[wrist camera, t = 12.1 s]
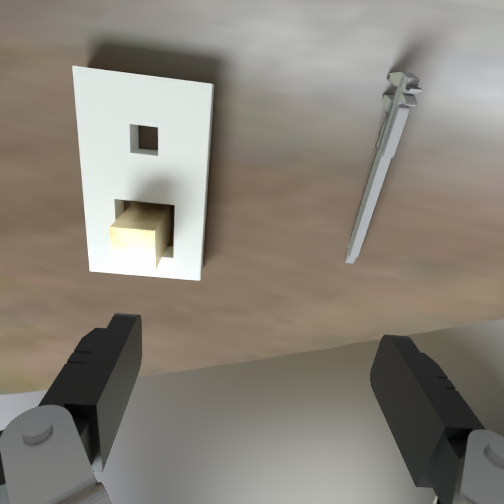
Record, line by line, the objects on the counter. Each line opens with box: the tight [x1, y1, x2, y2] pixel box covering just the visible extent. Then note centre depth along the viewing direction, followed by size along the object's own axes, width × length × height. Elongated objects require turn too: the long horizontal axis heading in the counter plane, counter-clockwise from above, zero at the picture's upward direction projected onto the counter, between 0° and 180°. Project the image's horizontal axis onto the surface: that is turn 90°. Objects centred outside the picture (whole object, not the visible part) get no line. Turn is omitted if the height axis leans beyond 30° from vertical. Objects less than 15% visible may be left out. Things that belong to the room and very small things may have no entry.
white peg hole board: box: [72, 66, 214, 281], centre depth 36 cm, size 12×20×3 cm, turn 173°
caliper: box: [345, 72, 422, 263], centre depth 35 cm, size 20×1×6 cm, turn 175°
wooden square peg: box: [109, 202, 171, 270], centre depth 35 cm, size 4×4×8 cm
